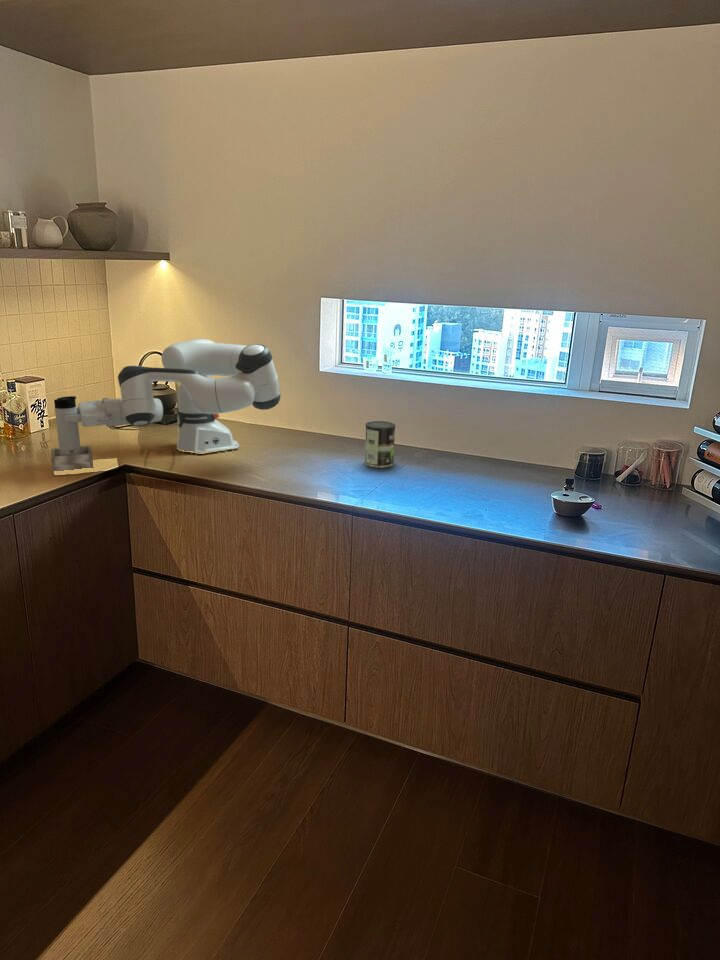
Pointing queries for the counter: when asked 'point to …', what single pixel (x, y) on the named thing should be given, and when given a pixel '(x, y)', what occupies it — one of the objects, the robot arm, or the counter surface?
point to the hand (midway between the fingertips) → (64, 415)
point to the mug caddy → (72, 460)
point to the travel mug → (67, 426)
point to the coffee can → (379, 444)
